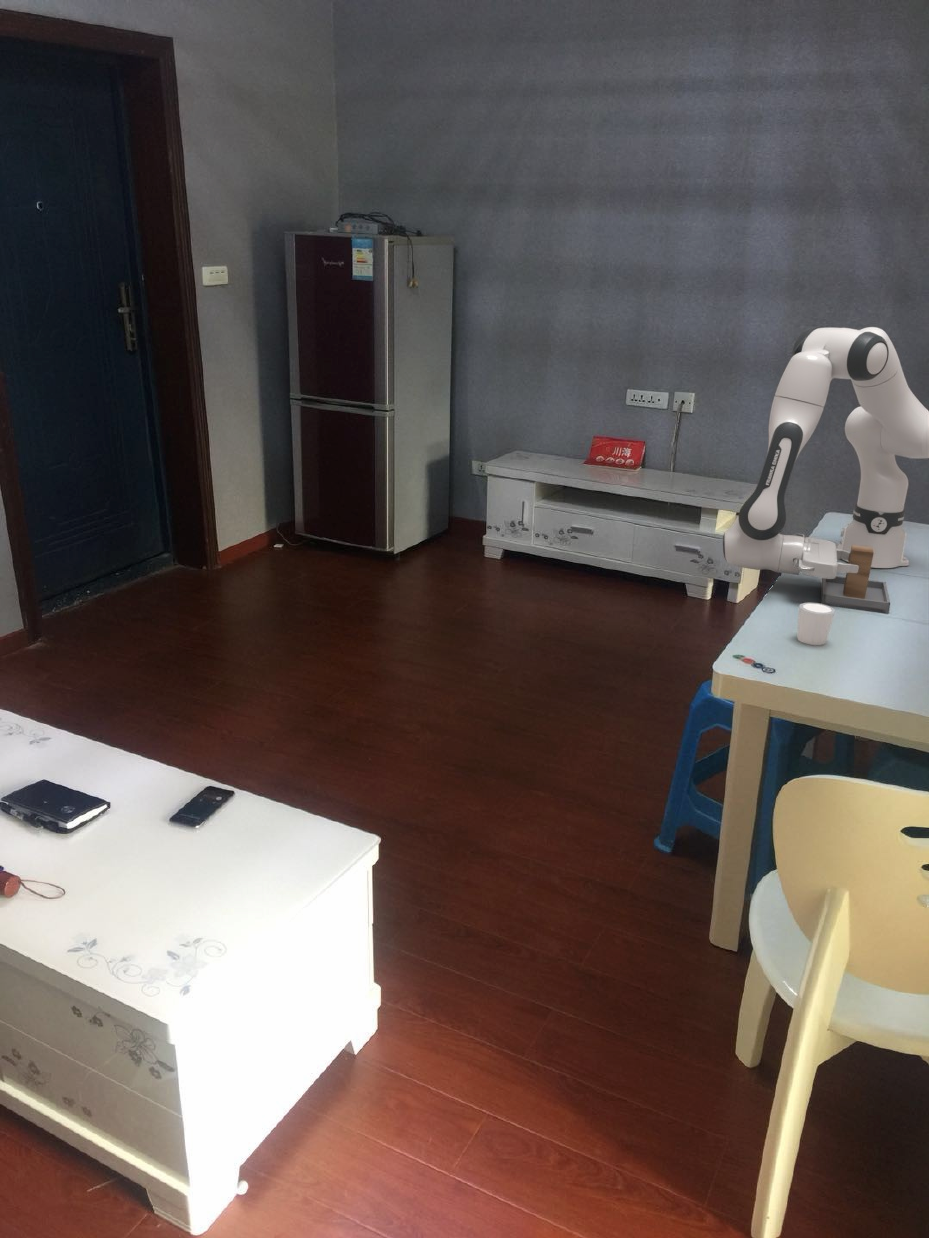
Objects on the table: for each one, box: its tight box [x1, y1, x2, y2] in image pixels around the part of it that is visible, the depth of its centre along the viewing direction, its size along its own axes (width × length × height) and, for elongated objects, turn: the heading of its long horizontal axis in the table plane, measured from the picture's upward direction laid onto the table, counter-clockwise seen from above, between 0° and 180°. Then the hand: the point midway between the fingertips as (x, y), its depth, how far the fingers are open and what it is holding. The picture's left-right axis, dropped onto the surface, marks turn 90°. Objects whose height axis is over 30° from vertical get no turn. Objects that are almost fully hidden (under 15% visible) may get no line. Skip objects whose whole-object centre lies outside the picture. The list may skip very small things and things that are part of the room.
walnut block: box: [843, 545, 874, 599], centre depth 220 cm, size 4×4×11 cm
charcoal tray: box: [820, 575, 891, 614], centre depth 221 cm, size 16×14×2 cm
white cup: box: [796, 602, 836, 646], centre depth 195 cm, size 7×7×7 cm
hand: (857, 563), depth 219 cm, fingers open, 8 cm apart
